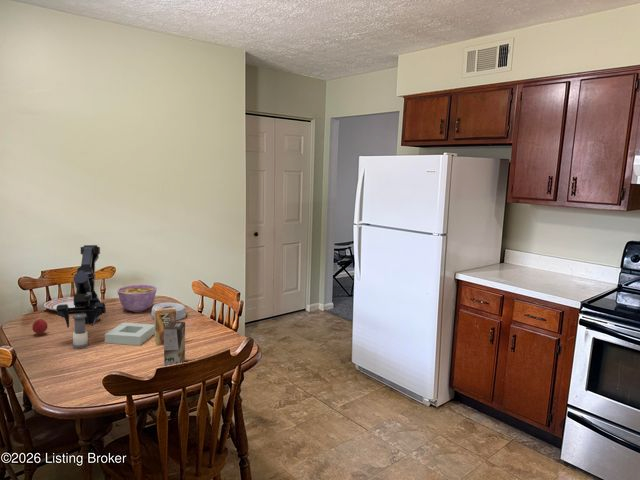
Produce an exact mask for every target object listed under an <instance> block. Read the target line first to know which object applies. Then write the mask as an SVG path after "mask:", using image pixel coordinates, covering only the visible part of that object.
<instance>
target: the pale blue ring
mask: <svg viewBox="0 0 640 480" xmlns="http://www.w3.org/2000/svg"><path fill="white" fill-rule="evenodd" d="M174 307H175V309H176V321H179V320H182V319H184V318H186V316H187V311H186V307H185V305H183V304H181V303H176V302H159V303H156V304H154V305H153V306H152V308H151V317H152V318H153V320H155V309H163V308H174Z"/></svg>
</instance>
